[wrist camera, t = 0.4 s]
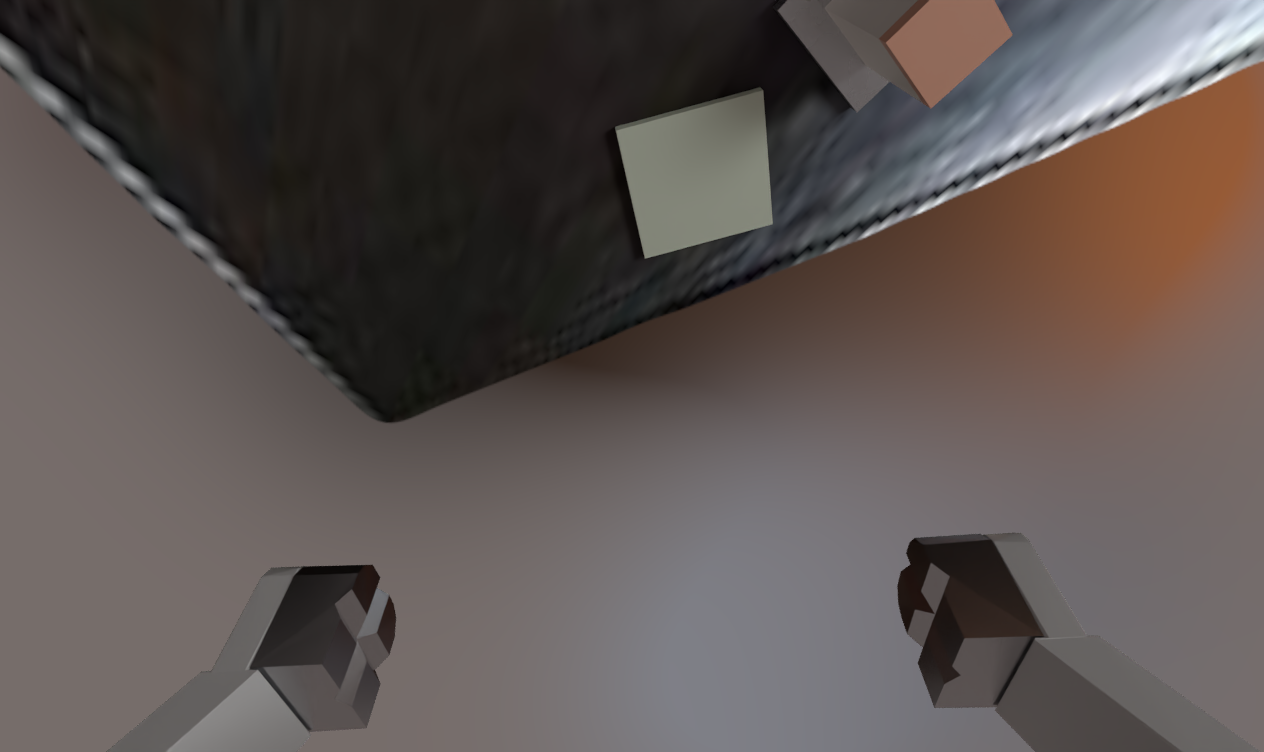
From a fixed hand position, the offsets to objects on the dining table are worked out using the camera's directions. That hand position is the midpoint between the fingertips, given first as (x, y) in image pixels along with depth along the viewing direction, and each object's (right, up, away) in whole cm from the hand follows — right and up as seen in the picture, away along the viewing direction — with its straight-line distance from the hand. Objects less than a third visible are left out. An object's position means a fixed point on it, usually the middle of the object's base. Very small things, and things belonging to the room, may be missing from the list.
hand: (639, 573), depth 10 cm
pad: (+6, +20, +46) cm, 50 cm away
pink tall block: (+18, +31, +38) cm, 52 cm away
